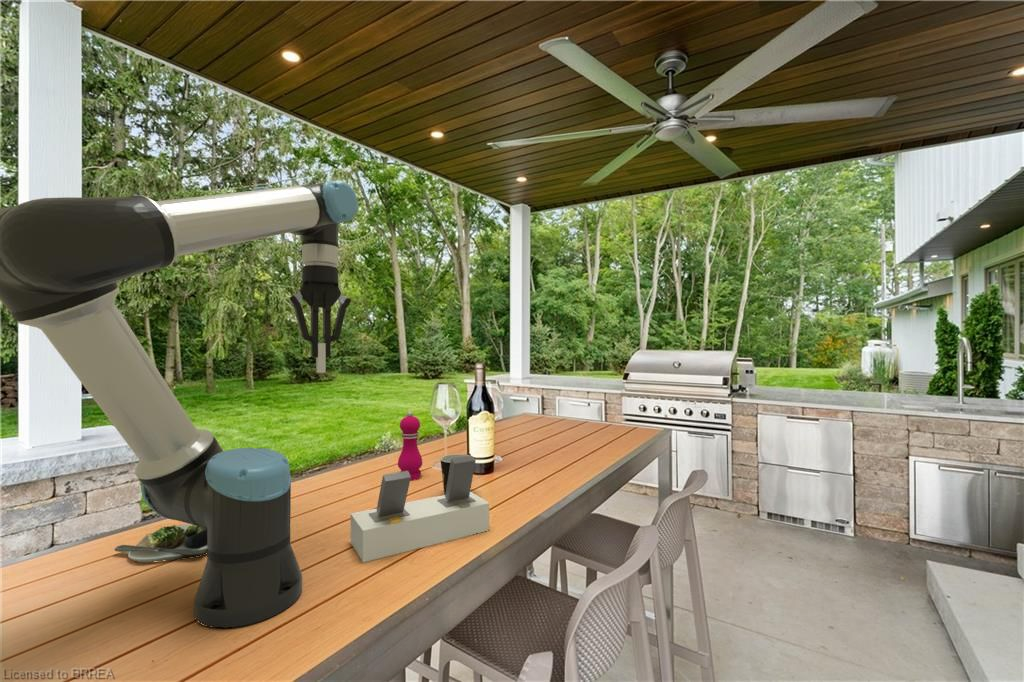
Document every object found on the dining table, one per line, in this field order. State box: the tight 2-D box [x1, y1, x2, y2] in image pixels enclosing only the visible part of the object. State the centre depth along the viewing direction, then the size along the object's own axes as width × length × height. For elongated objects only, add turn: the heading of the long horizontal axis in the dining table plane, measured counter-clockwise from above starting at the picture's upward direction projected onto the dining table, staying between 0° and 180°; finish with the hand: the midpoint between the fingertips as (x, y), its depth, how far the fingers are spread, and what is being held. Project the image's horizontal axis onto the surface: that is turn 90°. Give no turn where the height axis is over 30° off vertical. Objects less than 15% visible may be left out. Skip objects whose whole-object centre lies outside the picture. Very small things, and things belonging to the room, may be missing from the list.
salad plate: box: [114, 523, 207, 563], centre depth 94 cm, size 19×18×5 cm
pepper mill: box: [397, 410, 423, 481], centre depth 140 cm, size 7×7×20 cm
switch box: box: [350, 490, 490, 563], centre depth 99 cm, size 27×10×6 cm, turn 122°
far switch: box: [445, 455, 476, 502], centre depth 101 cm, size 5×2×10 cm, turn 122°
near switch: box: [376, 471, 411, 517], centre depth 92 cm, size 5×2×10 cm, turn 122°
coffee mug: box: [440, 453, 470, 495], centre depth 125 cm, size 12×9×10 cm
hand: (320, 372), depth 104 cm, fingers closed
